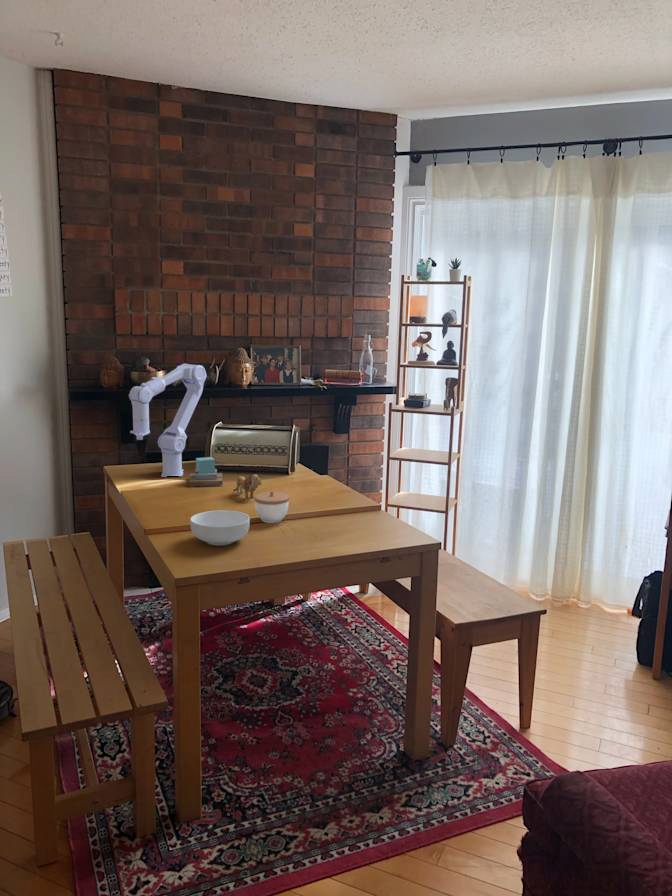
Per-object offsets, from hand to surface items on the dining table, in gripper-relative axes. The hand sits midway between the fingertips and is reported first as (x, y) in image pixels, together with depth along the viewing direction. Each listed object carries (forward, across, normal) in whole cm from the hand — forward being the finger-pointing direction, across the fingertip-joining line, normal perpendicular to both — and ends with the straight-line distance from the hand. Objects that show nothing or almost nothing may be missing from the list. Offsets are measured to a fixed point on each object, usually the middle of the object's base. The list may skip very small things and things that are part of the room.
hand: (142, 455), depth 274 cm
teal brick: (+6, +4, +23) cm, 24 cm away
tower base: (+10, +4, +23) cm, 26 cm away
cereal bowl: (+10, +71, +28) cm, 77 cm away
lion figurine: (+10, +25, +38) cm, 46 cm away
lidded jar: (+10, +53, +44) cm, 70 cm away
